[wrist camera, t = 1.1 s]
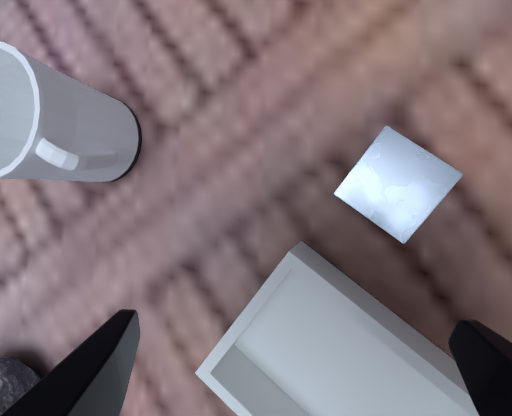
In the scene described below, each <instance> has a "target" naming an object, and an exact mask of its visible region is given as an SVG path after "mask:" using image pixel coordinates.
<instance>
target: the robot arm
mask: <svg viewBox="0 0 512 416" xmlns="http://www.w3.org/2000/svg"><path fill="white" fill-rule="evenodd" d="M139 339H140V327H139V320H138V313H137V311H136V310H129V309H122V310H119V311H118V312H117V313H116V314H115V315H113V316H112V317H111V318H110V319H109V320H108V321H107V322H105V323H104V324H103V325H102V326H101V327H100V328H99V329H98V330H96V331H95V332H94V333H93V334H92V335H91V336H90V337H88V338H87V339H86V340H85V341H84V342H83V343H82V344H81V345H79V346H78V347H77V348H76V349H75V350H74V351H73V352H71V353H70V354H69V355H68V356H67V357H66V358H65V359H64V360H62V361H61V362H60V363H59V364H58V365H57V366H56V367H54V368H53V369H52V370H51V371H50V372H49V373H48V374H46V375H45V376H44V377H43V378H42V379H41V380H40V381H39V382H37V383H36V384H35V385H34V386H33V387H32V388H31V389H29V390H28V391H27V392H26V393H25V394H24V395H23V396H22V397H20V398H19V399H18V400H17V401H16V402H15V403H14V404H12V405H11V406H10V407H9V408H8V409H7V410H6V411H5V412H3V413H2V414H1V415H0V416H119V414H120V411H121V408H122V405H123V402H124V399H125V395H126V391H127V387H128V383H129V379H130V375H131V371H132V367H133V363H134V359H135V355H136V351H137V347H138V343H139ZM449 348H450V350H451V353H452V355H453V357H454V360H455V362H456V365H457V367H458V369H459V372H460V374H461V376H462V379H463V381H464V384H465V386H466V388H467V391H468V393H469V395H470V398H471V400H472V402H473V404H474V406H475V408H476V410H477V412H478V414H479V416H512V343H511V342H510V341H508V340H507V339H505V338H503V337H502V336H500V335H499V334H497V333H496V332H494V331H492V330H491V329H489V328H488V327H486V326H485V325H483V324H481V323H480V322H478V321H476V320H466V319H462V320H459V321H458V322H457V324H456V326H455V328H454V330H453V332H452V334H451V335H450V337H449Z"/></svg>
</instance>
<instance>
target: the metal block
mask: <svg viewBox="0 0 512 416" xmlns="http://www.w3.org/2000/svg"><path fill="white" fill-rule="evenodd" d="M462 176H463V174H462V173H461V172H459V171H457V170H456V169H454V168H453V167H451V166H450V165H448V164H446V163H445V162H443V161H442V160H440V159H438V158H437V157H435V156H434V155H432V154H431V153H429V152H427V151H426V150H424V149H423V148H421V147H419V146H418V145H416V144H415V143H413V142H412V141H410V140H408V139H407V138H405V137H404V136H402V135H401V134H399V133H397V132H396V131H394V130H393V129H391V128H389V127H388V126H385V128H384V129H383V130H382V132H381V133H380V134H379V135H378V137H377V138H376V139H375V141H374V142H373V143H372V145H371V146H370V147H369V148H368V150H367V151H366V152H365V154H364V155H363V156H362V158H361V159H360V160H359V161H358V163H357V164H356V165H355V167H354V168H353V169H352V171H351V172H350V173H349V174H348V176H347V177H346V178H345V180H344V181H343V182H342V183H341V185H340V186H339V187H338V189H337V190H336V191H335V193H334V194H335V195H336V196H338V197H339V198H341V199H342V200H343V201H345V202H346V203H347V204H349V205H350V206H352V207H353V208H354V209H356V210H357V211H359V212H360V213H361V214H363V215H364V216H366V217H367V218H368V219H370V220H371V221H372V222H374V223H375V224H377V225H378V226H379V227H381V228H382V229H384V230H385V231H386V232H388V233H389V234H391V235H392V236H393V237H395V238H396V239H397V240H399V241H400V242H402V243H403V244H404V243H405V242H406V241H407V240H408V239H409V238H410V236H411V235H412V234H413V233H414V232H415V231H416V229H417V228H418V227H419V226H420V225H421V224H422V222H423V221H424V220H425V219H426V218H427V217H428V215H429V214H430V213H431V212H432V211H433V210H434V208H435V207H436V206H437V205H438V204H439V202H440V201H441V200H442V199H443V198H444V197H445V195H446V194H447V193H448V192H449V191H450V190H451V188H452V187H453V186H454V185H455V184H456V183H457V181H458V180H459V179H460V178H461V177H462Z"/></svg>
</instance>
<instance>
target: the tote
mask: <svg viewBox="0 0 512 416" xmlns="http://www.w3.org/2000/svg"><path fill="white" fill-rule="evenodd" d="M195 374H196V375H197V376H198V377H199V378H200V379H201V380H202V381H203V382H204V383H205V384H206V385H207V386H209V387H210V388H211V389H212V390H213V391H214V392H215V393H216V394H217V395H218V396H219V397H220V398H221V399H222V400H223V401H224V402H225V403H226V404H227V405H228V406H229V407H230V408H231V409H232V410H233V411H234V412H235V413H236V414H237V415H238V416H479V414H478V412H477V410H476V408H475V406H474V404H473V402H472V400H471V398H470V395H469V393H468V391H467V388H466V386H465V384H464V381H463V379H462V376H461V374H460V372H459V369H458V367H457V365H456V362H455V360H453V359H452V358H451V357H450V356H448V355H447V354H446V353H444V352H443V351H442V350H441V349H439V348H438V347H437V346H435V345H434V344H433V343H432V342H430V341H429V340H428V339H427V338H425V337H424V336H423V335H421V334H420V333H419V332H418V331H416V330H415V329H414V328H412V327H411V326H410V325H409V324H407V323H406V322H405V321H403V320H402V319H401V318H400V317H398V316H397V315H396V314H395V313H393V312H392V311H391V310H389V309H388V308H387V307H386V306H384V305H383V304H382V303H380V302H379V301H378V300H377V299H375V298H374V297H373V296H372V295H370V294H369V293H368V292H366V291H365V290H364V289H363V288H361V287H360V286H359V285H357V284H356V283H355V282H354V281H352V280H351V279H350V278H348V277H347V276H346V275H345V274H343V273H342V272H341V271H340V270H338V269H337V268H336V267H334V266H333V265H332V264H331V263H329V262H328V261H327V260H325V259H324V258H323V257H322V256H320V255H319V254H318V253H317V252H315V251H314V250H313V249H311V248H310V247H309V246H308V245H306V244H305V243H304V242H302V241H300V242H299V243H298V244H297V245H295V246H294V247H293V248H292V249H291V250H290V251H289V252H288V253H287V254H286V255H285V257H284V258H283V259H282V261H281V262H280V263H279V265H278V266H277V267H276V268H275V270H274V271H273V272H272V274H271V275H270V276H269V278H268V279H267V280H266V281H265V283H264V284H263V285H262V287H261V288H260V289H259V291H258V292H257V293H256V294H255V296H254V297H253V298H252V300H251V301H250V302H249V304H248V305H247V306H246V307H245V309H244V310H243V311H242V313H241V314H240V315H239V317H238V318H237V319H236V320H235V322H234V323H233V324H232V326H231V327H230V328H229V330H228V331H227V332H226V333H225V335H224V336H223V337H222V339H221V340H220V341H219V343H218V344H217V345H216V346H215V348H214V349H213V350H212V352H211V353H210V354H209V356H208V357H207V358H206V359H205V361H204V362H203V363H202V365H201V366H200V367H199V369H198V370H197V371H196V372H195Z"/></svg>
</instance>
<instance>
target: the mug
mask: <svg viewBox="0 0 512 416" xmlns="http://www.w3.org/2000/svg"><path fill="white" fill-rule="evenodd" d="M140 146H141V131H140V127H139V124H138V121H137V118H136V117H135V115H134V114H133V112H132V110H131V109H130V108H129V107H128V106H126V105H125V104H124V103H122V102H120V101H118V100H116V99H114V98H112V97H110V96H108V95H106V94H104V93H102V92H100V91H97V90H95V89H93V88H91V87H89V86H87V85H85V84H83V83H81V82H79V81H77V80H75V79H72V78H70V77H68V76H66V75H64V74H62V73H60V72H58V71H56V70H54V69H52V68H51V67H49V66H47V65H45V64H44V63H42V62H40V61H38V60H37V59H35V58H33V57H31V56H30V55H28V54H26V53H24V52H23V51H21V50H19V49H17V48H15V47H13V46H10V45H8V44H6V43H4V42H0V179H48V180H68V181H88V182H111V181H114V180H117V179H119V178H121V177H122V176H124V175H125V174H126V173H127V172H128V171H129V170H130V169H131V168H132V166H133V165H134V163H135V162H136V160H137V157H138V155H139V152H140Z"/></svg>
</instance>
